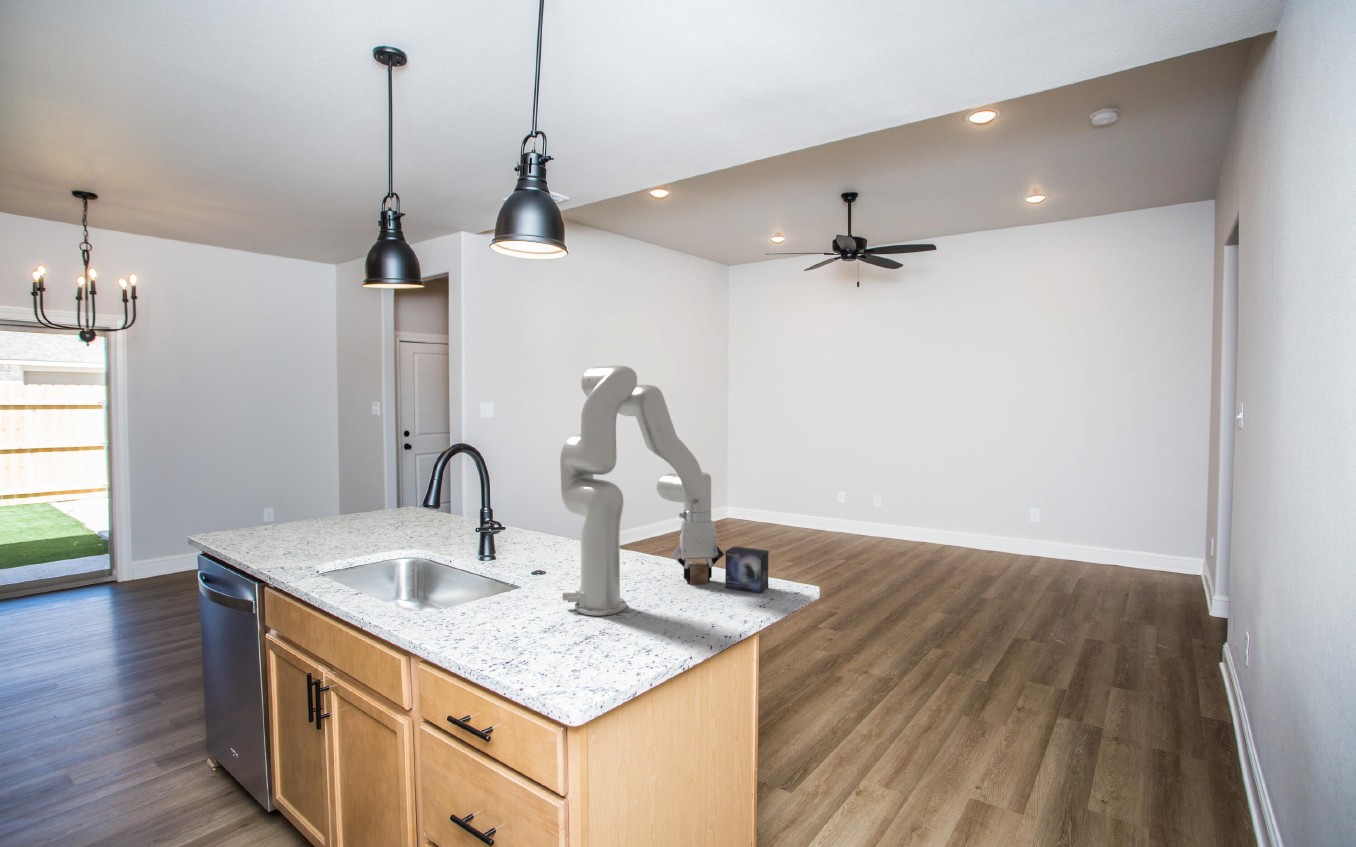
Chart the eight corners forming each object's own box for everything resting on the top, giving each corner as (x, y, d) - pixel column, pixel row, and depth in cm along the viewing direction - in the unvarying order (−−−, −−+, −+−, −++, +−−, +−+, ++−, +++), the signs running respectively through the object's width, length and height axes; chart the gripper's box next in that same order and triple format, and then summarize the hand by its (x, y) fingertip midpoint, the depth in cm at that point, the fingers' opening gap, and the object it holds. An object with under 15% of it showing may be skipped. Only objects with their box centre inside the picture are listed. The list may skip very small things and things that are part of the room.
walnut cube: (690, 585, 181) (690, 567, 181) (687, 579, 186) (687, 562, 186) (708, 584, 182) (708, 566, 182) (704, 579, 187) (704, 561, 187)
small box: (724, 588, 178) (724, 550, 177) (733, 582, 183) (733, 545, 183) (760, 594, 173) (761, 555, 172) (769, 587, 178) (769, 549, 178)
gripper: (669, 520, 178) (669, 586, 179) (730, 518, 181) (730, 583, 182) (665, 515, 185) (665, 578, 186) (724, 513, 188) (724, 575, 189)
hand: (697, 580), depth 184 cm, fingers closed on walnut cube, 5 cm apart
